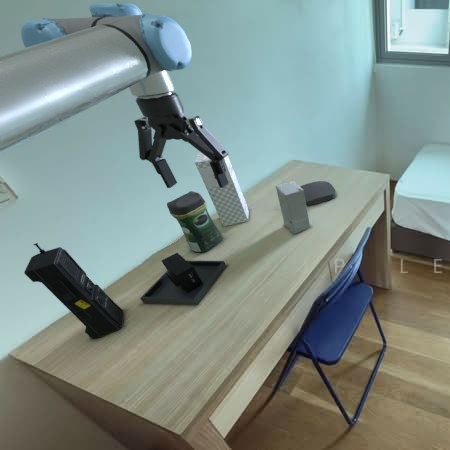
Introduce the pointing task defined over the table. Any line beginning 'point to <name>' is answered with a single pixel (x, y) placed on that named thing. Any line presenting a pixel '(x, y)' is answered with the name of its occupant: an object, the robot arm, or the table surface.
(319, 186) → the media streaming box
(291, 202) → the cosmetic box
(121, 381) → the table surface
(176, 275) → the digital camera
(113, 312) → the portable radio
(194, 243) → the coffee jar
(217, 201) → the box
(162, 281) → the shallow black tray
